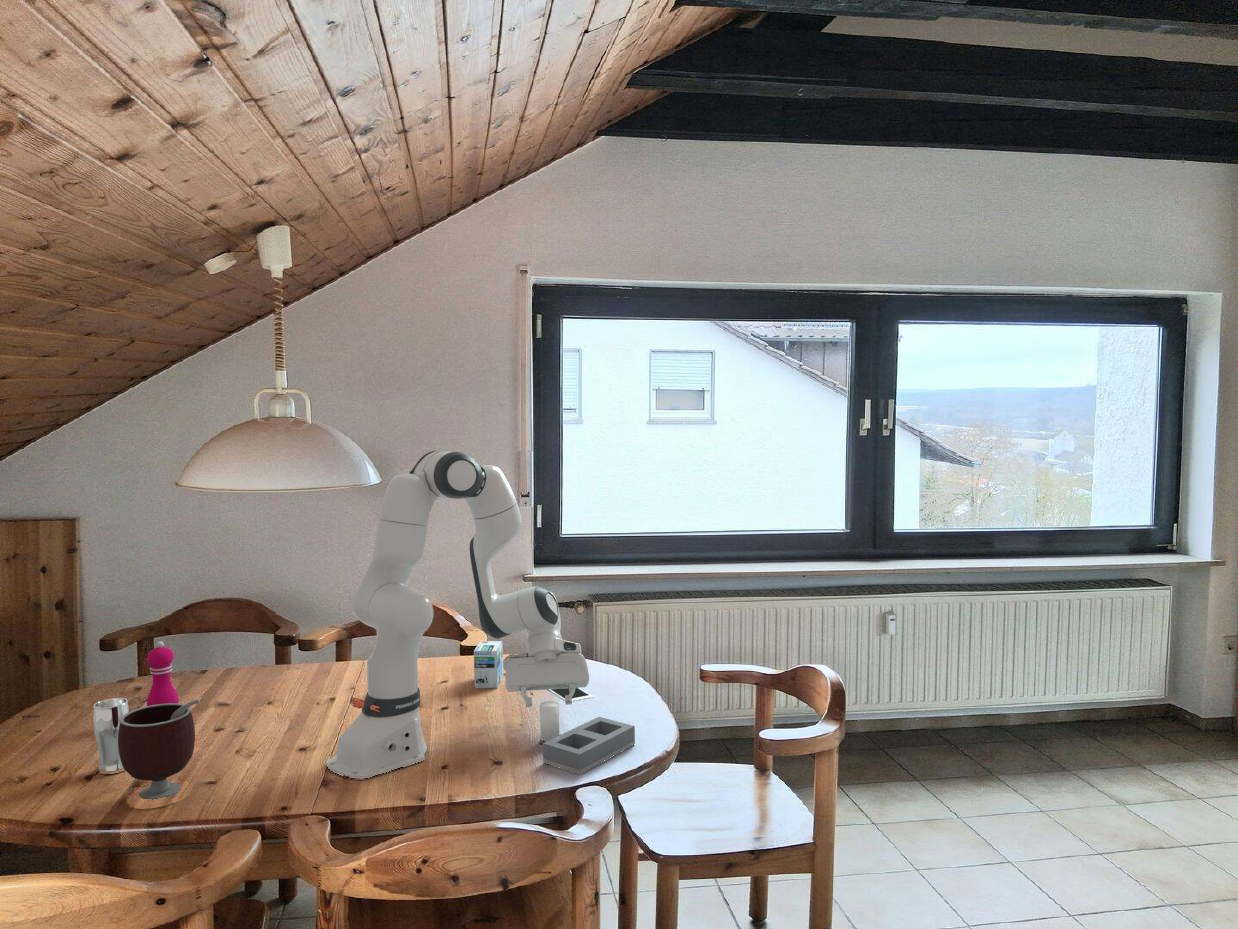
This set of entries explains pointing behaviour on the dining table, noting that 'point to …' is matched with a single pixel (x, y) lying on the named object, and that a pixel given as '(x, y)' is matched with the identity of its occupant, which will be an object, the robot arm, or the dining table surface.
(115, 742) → the beer glass
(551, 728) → the plug
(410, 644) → the robot arm
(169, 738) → the mate gourd
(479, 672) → the light bulb box
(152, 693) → the pepper mill
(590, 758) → the socket block
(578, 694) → the cell phone
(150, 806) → the dining table surface
